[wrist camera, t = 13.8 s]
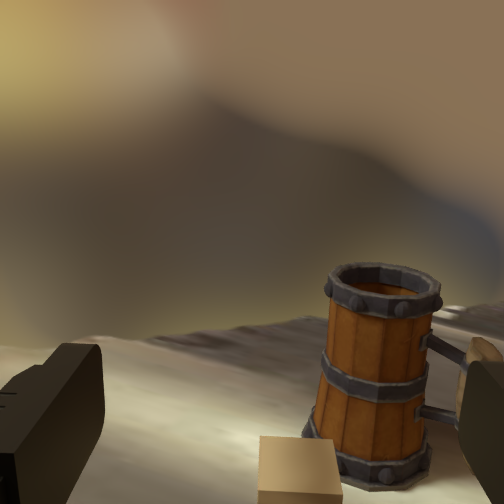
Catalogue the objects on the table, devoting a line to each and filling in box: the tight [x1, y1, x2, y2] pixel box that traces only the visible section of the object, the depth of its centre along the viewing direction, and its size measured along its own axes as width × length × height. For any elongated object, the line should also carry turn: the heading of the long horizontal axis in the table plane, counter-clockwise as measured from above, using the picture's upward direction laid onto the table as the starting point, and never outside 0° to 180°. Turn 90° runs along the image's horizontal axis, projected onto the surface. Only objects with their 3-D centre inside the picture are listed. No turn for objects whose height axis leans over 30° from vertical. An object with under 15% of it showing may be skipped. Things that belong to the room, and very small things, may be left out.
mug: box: [301, 262, 503, 492], centre depth 51 cm, size 19×14×20 cm
